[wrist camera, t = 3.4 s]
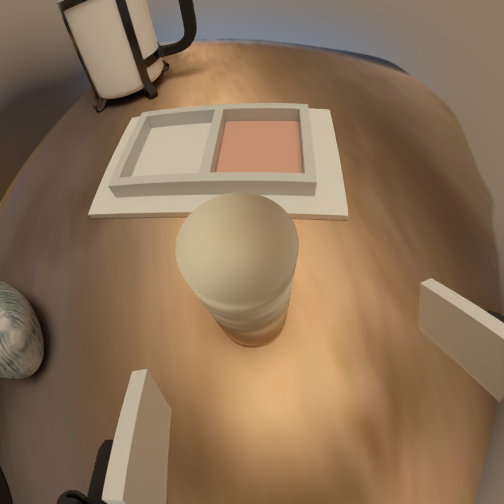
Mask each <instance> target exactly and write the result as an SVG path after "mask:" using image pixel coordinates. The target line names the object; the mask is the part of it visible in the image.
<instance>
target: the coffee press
mask: <svg viewBox="0 0 504 504" xmlns="http://www.w3.org/2000/svg"><path fill="white" fill-rule="evenodd" d="M179 4H180V9H181V14H182V19H183V24H184V31H185V32H184V37H183V38H182V39H181V40H180V41H178V42H176V43H173V44H169V45H165V46H160V45H159V43H158V42H157V39H156V35H155V31H154V28H153V24H152V20H151V17H150V13H149V9H148V5H147V1H146V0H58V3H57V5H58V8H59V10H60V12H61V14H62V17H63V20H64V23H65V26H66V28H67V31H68V33H69V36H70V38H71V40H72V43H73V45H74V48H75V50H76V52H77V55H78V57H79V59H80V62H81V64H82V66H83V69H84V71H85V73H86V75H87V78H88V80H89V82H90V84H91V87H92V89H93V91H94V94H95V101H94V106H93V107H94V109H95V110H97V111H98V112H100V111H102V110H103V109H104V107H105V105H106V103H107V101H108V100H109V99H115V98H120V97H124V96H127V95H130V94H132V93H135V92H137V91H139V90H141V91H143V92H144V93H145V95H146V96H147V97H148V98H149V99H151V98H153V97H154V96H156V95H158V92H157V90H156V88H155V87H154V85H153V84H152V82H153V81H154V80H155V79H157V77H158V76H159V75H160V73H161V72H162V71H166V70H168V68H169V64H168V63H166V62H165V61H163V60H162V57H164V56H168V55H172V54H176V53H179V52H181V51H183V50H185V49H186V48H188V47H189V46H190V45H191V43H192V42H193V40H194V38H195V35H196V29H197V27H196V17H195V12H194V6H193V1H192V0H179ZM163 63H164V64H165V66H164V68H163ZM98 96H100V97H102V98H104V100H103V102H102V104H101V106H100V108H99V109H97V105H98V99H99V97H98Z"/></svg>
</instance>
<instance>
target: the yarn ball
mask: <svg viewBox="0 0 504 504" xmlns="http://www.w3.org/2000/svg"><path fill="white" fill-rule="evenodd" d="M43 356H44V341H43V335H42V331H41V327H40V324H39V321H38V319H37V317H36V314H35V312H34V310H33V308H32V307H31V304H30V303H29V302H28V300H27V299H26V298H25V297H24V296H23V295H22V294H21V293H20V292H19V291H17V290H16V289H15V288H13V287H12V286H10V285H8V284H6V283H4V282H2V281H0V377H2V378H7V379H23V378H27V377H30V376H31V375H32V374H33V373H34V372H35V371H36V370H37V369H38V368H39V366H40V364H41V362H42V359H43Z"/></svg>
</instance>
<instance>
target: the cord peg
mask: <svg viewBox="0 0 504 504" xmlns="http://www.w3.org/2000/svg"><path fill="white" fill-rule="evenodd" d="M298 248H299V240H298V234H297V229H296V227H295V225H294V222H293V221H292V219H291V217H290V216H289V215H288V213H287V212H286V211H285V210H284V209H283V208H282V207H281V206H280V205H278V204H277V203H276V202H274V201H272V200H270V199H269V198H266V197H264V196H261V195H257V194H253V193H245V192H236V193H228V194H223V195H220V196H217V197H214V198H212V199H210V200H208V201H206V202H204V203H203V204H201V205H200V206H198V207H197V208H196V209H195V210H194V211H193V212H192V213H191V214H190V215H189V216H188V217H187V218H186V220H185V221H184V223H183V224H182V226H181V228H180V231H179V233H178V236H177V240H176V246H175V255H176V261H177V265H178V268H179V270H180V272H181V274H182V276H183V277H184V279H185V280H186V282H187V283H188V284H189V286H190V287H191V288H192V290H193V291H194V292H195V294H196V295H197V296H198V298H199V299H200V300H201V302H202V303H203V304H204V306H205V307H206V308H207V310H208V311H209V312H210V314H211V315H212V316H213V317H214V319H215V320H216V321H217V323H218V324H219V325H220V326H221V328H222V329H223V330H224V331H225V333H226V334H227V335H228V336H229V338H230V339H231V340H233V341H234V342H235V343H237V344H239V345H242V346H245V347H251V348H256V347H261V346H265V345H267V344H269V343H271V342H272V341H274V340H275V339H276V338H277V337H278V336H279V334H280V333H281V331H282V330H283V327H284V324H285V320H286V315H287V310H288V305H289V299H290V294H291V289H292V284H293V278H294V273H295V267H296V261H297V256H298Z"/></svg>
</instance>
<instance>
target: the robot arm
mask: <svg viewBox="0 0 504 504" xmlns="http://www.w3.org/2000/svg"><path fill="white" fill-rule="evenodd" d="M418 329H419V330H420V331H421V332H422V333H424V334H425V335H426V336H427V337H428V338H429V339H430V340H432V341H433V342H434V343H435V344H436V345H437V346H439V347H440V348H441V349H442V350H443V351H444V352H445V353H446V354H448V355H449V356H450V357H451V358H452V359H453V360H454V361H455V362H457V363H458V364H459V365H460V366H461V367H462V368H463V369H464V370H465V371H467V372H468V373H469V374H470V375H471V376H472V377H473V378H474V379H475V380H476V381H477V382H478V383H480V384H481V385H482V386H483V387H484V388H485V389H486V390H487V391H488V392H489V393H490V394H491V395H492V396H493V397H494V398H495V399H496V400H498V401H499V402H501V401H502V400H504V317H503V316H502V315H500V314H498V313H495V312H492V311H488V312H486V311H484V310H483V309H481V308H480V307H478V306H476V305H475V304H473V303H472V302H470V301H468V300H467V299H465V298H464V297H462V296H460V295H459V294H457V293H455V292H454V291H452V290H450V289H449V288H447V287H445V286H444V285H442V284H440V283H438V282H437V281H435V280H433V279H432V278H431V279H428V280H426V281H424V282H422V283H420V307H419V326H418ZM171 410H172V409H171V408H170V406H169V405H168V403H167V401H166V400H165V398H164V397H163V395H162V393H161V392H160V390H159V388H158V387H157V385H156V383H155V381H154V380H153V378H152V376H151V374H150V373H149V371H148V369H143V370H138V371H132V374H131V378H130V381H129V385H128V388H127V392H126V395H125V399H124V402H123V406H122V410H121V414H120V417H119V421H118V425H117V429H116V433H115V437H114V440H105V441H104V443H103V444H102V445H101V447H100V448H99V450H98V454H97V458H96V462H95V466H94V470H93V474H92V478H91V483H90V487H89V492H88V497H86V496H85V495H83V494H82V493H81V492H78V491H76V490H69V491H67V492H64V493H63V494H62V495H61V496H60V497H59V499H58V500H57V504H166V491H167V467H168V450H169V435H170V422H171ZM0 504H12V501H11V497H10V494H9V490H8V487H7V484H6V482H5V479H4V477H3V474H2V472H1V470H0Z"/></svg>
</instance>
